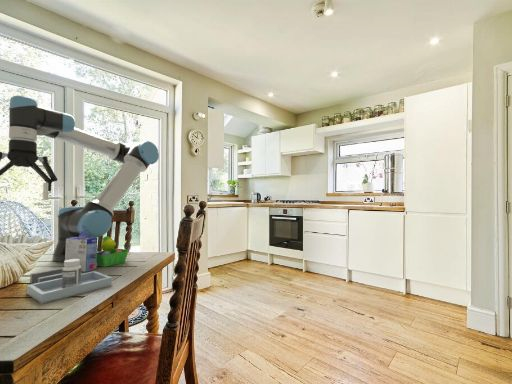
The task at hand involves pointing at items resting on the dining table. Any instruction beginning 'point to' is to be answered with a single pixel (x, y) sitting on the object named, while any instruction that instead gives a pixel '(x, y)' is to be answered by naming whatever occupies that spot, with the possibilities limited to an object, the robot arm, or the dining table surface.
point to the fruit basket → (110, 253)
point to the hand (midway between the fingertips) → (22, 200)
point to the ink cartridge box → (82, 250)
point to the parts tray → (54, 289)
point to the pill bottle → (71, 273)
